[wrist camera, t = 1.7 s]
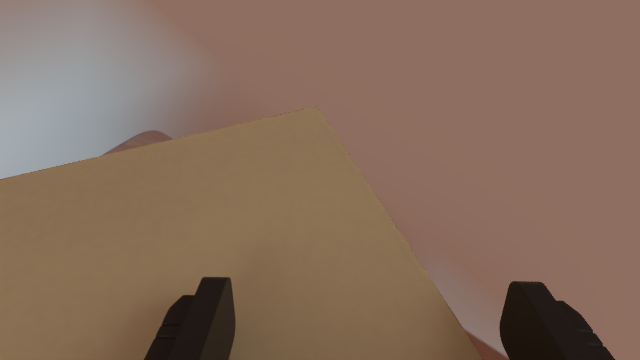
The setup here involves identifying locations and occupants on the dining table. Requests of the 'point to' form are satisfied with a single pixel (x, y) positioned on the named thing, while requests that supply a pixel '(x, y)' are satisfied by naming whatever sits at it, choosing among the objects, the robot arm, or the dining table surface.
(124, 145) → the dining table surface
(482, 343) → the dining table surface
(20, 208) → the lidded cardboard box
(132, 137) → the dining table surface
